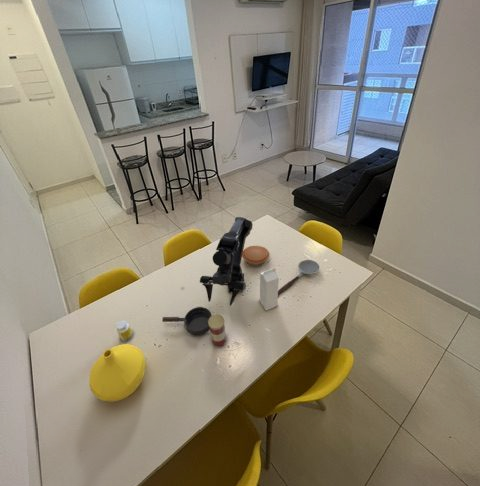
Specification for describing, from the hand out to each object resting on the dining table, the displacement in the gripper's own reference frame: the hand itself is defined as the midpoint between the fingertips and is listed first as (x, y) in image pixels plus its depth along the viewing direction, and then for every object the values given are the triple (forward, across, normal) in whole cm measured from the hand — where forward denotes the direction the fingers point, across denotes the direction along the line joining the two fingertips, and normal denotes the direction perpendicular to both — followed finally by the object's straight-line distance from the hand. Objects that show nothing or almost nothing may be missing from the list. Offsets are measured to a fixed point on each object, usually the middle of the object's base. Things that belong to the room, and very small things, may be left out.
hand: (219, 303), depth 106 cm
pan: (+12, -10, +8) cm, 17 cm away
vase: (+32, -28, -13) cm, 44 cm away
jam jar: (+15, +1, +4) cm, 16 cm away
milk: (0, +18, +20) cm, 27 cm away
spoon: (-12, +28, +33) cm, 45 cm away
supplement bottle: (+21, -38, -2) cm, 43 cm away
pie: (-20, +6, +42) cm, 47 cm away
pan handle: (+12, -20, +4) cm, 24 cm away
